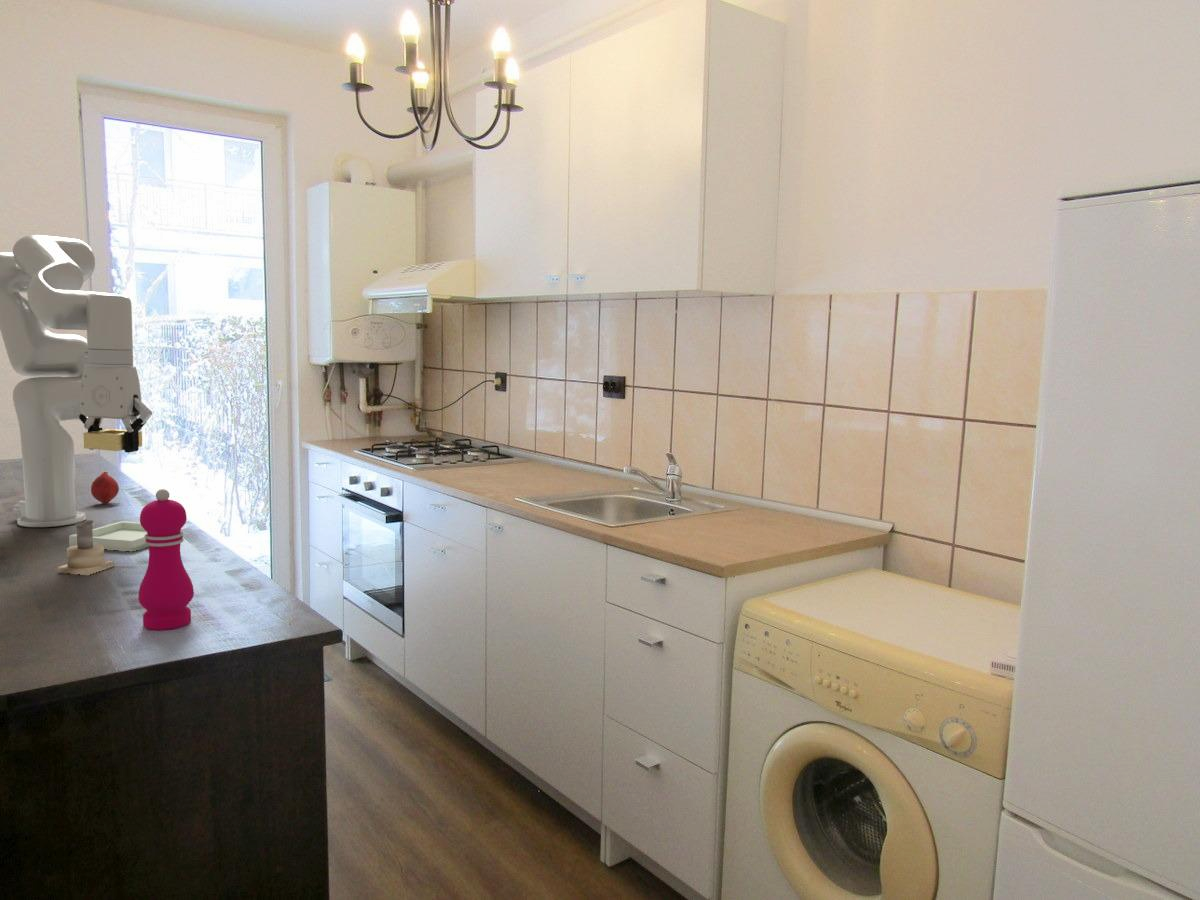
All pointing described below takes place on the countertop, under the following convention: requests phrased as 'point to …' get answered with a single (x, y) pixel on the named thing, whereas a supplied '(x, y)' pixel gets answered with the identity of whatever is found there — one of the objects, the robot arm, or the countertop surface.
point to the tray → (118, 536)
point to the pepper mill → (165, 566)
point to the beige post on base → (85, 553)
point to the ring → (107, 439)
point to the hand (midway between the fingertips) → (113, 449)
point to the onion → (104, 488)
